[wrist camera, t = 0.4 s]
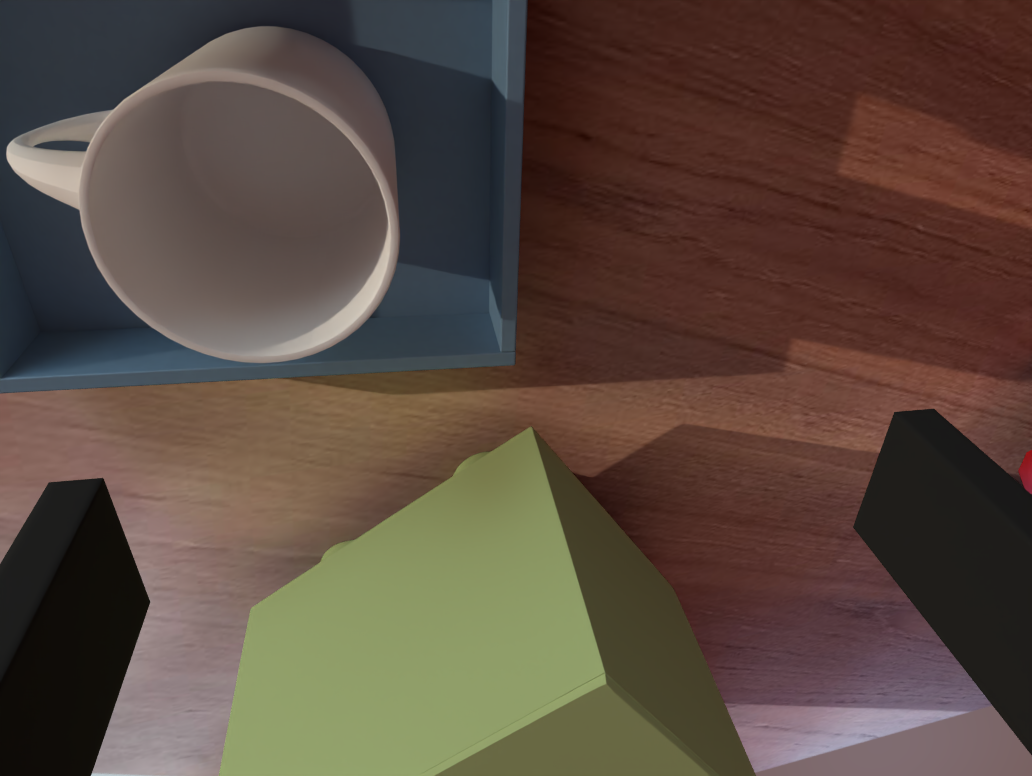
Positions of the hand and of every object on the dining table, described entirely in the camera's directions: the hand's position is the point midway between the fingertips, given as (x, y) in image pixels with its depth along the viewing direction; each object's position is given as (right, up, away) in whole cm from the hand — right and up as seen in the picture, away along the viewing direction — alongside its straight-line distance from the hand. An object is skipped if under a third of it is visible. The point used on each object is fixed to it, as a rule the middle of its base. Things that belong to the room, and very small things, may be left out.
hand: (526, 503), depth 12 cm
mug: (-11, +12, +17) cm, 24 cm away
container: (-3, -9, +32) cm, 34 cm away
